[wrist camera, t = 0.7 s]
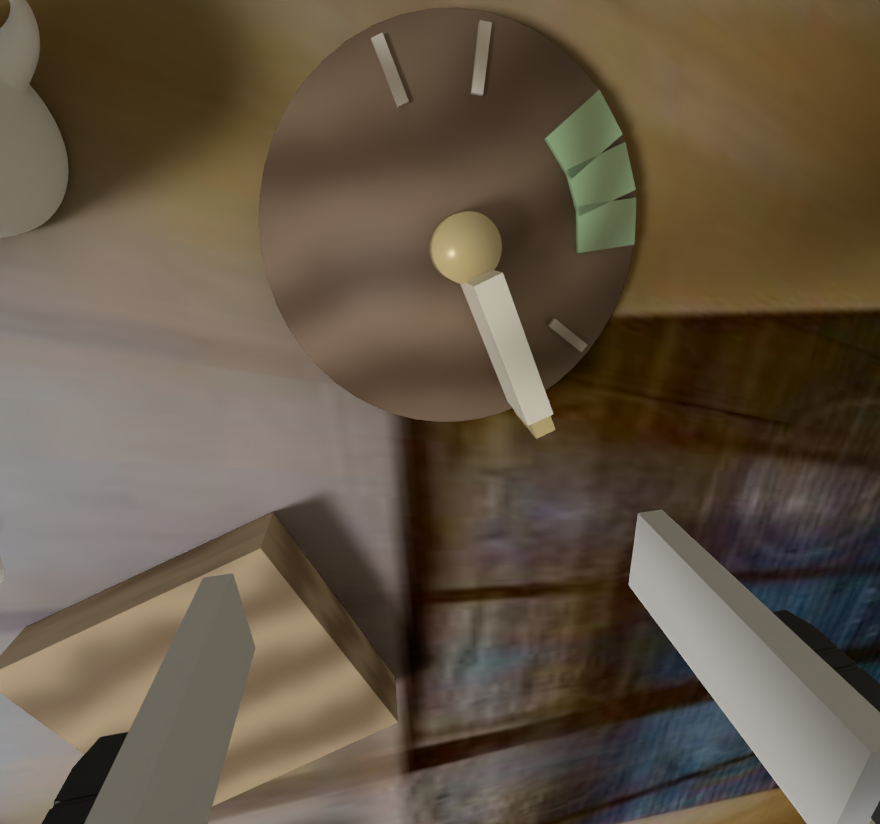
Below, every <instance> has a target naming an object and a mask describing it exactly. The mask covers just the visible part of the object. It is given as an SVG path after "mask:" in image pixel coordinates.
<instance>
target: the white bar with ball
mask: <svg viewBox="0 0 880 824" xmlns="http://www.w3.org/2000/svg"><path fill="white" fill-rule="evenodd" d="M428 249H429V256H430V259H431V262H432V264H433V266H434V267H435V269H436V270H437V271H438V272H439V273H440V274H441V275H443V276H445V277H446V278H448V279H450V280H452V281H454V282H456V283H460V284H461V287H462V289H463V292H464V294H465V297H466V299H467V302H468V304H469V307H470V309H471V312H472V314H473V317H474V319H475V322H476V324H477V327H478V329H479V332H480V334H481V337H482V339H483V342H484V344H485V347H486V349H487V352H488V354H489V357H490V359H491V362H492V364H493V367H494V369H495V372H496V374H497V377H498V379H499V382H500V384H501V387H502V389H503V392H504V394H505V397H506V399H507V402H508V403H509V404H510V405H511V407H512V408H513V409H514V411H515V413H516V415H517V416H518V417H519V418H520V419H521V421H522V422H523V423H524V424H525V425H526V427H527V428H528V429H529V430H530V431H531V433H532V434H533V435H534V436H535V437H536V439H537V438H539V437H541V436H543V435H545V434H548V433H550V432H552V431H554V430H555V428H554V425H553V422H552V419H551V415H553V412H552V409H551V406H550V403H549V400H548V398H547V395H546V392H545V389H544V386H543V384H542V381H541V378H540V375H539V372H538V370H537V367H536V364H535V361H534V358H533V356H532V353H531V350H530V347H529V344H528V342H527V339H526V336H525V333H524V330H523V328H522V325H521V322H520V319H519V316H518V314H517V311H516V308H515V305H514V302H513V299H512V297H511V294H510V291H509V288H508V285H507V283H506V280H505V277H504V274H503V272H499V271H495V268H496V267H497V265H498V263H499V260H500V257H501V252H502V242H501V237H500V234H499V231H498V229H497V227H496V226H495V224H494V223H493V222H492V221H491V220H490V219H489V218H488V217H486V216H485V215H483V214H481V213H478V212H473V211H466V212H460V213H456V214H452V215H449V216H447V217H445V218H444V219H442V220H441V221H440V222H439V223H438V224H437V225H436V226H435V227H434V229H433V231H432V233H431V235H430V239H429V247H428Z"/></svg>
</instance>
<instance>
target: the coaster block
mask: <svg viewBox="0 0 880 824" xmlns="http://www.w3.org/2000/svg"><path fill="white" fill-rule="evenodd" d="M231 573H233V574H234V578H235V581H236V584H237V588H238V591H239V594H240V598H241V601H242V604H243V608H244V611H245V614H246V618H247V621H248V624H249V627H250V631H251V634H252V637H253V641H254V644H255V647H256V648H255V652H254V655H253V659H252V663H251V666H250V670H249V674H248V677H247V681H246V684H245V688H244V692H243V695H242V699H241V703H240V706H239V710H238V714H237V717H236V721H235V725H234V728H233V732H232V736H231V739H230V743H229V747H228V750H227V754H226V758H225V761H224V765H223V769H222V772H221V776H220V780H219V783H218V787H217V791H216V794H215V798H214V802H213V805H212V806H214V805H216V804H219V803H221V802H223V801H225V800H227V799H230V798H232V797H234V796H236V795H238V794H241V793H243V792H245V791H247V790H249V789H252V788H254V787H256V786H258V785H260V784H263V783H265V782H267V781H269V780H272V779H274V778H276V777H278V776H280V775H283V774H285V773H287V772H289V771H291V770H294V769H296V768H298V767H300V766H302V765H305V764H307V763H309V762H311V761H313V760H316V759H318V758H320V757H322V756H324V755H327V754H329V753H331V752H333V751H336V750H338V749H340V748H342V747H344V746H347V745H349V744H351V743H353V742H355V741H358V740H360V739H362V738H364V737H366V736H369V735H371V734H373V733H375V732H377V731H380V730H382V729H384V728H386V727H388V726H391V725H393V724H395V723H397V722H398V716H397V700H396V684H395V676H394V675H393V674H392V672H391V671H390V669H389V668H388V667H387V665H386V664H385V663H384V661H383V660H382V659H381V657H380V656H379V655H378V653H377V652H376V651H375V649H374V648H373V646H372V645H371V644H370V642H369V641H368V640H367V638H366V637H365V636H364V634H363V633H362V632H361V630H360V629H359V628H358V626H357V625H356V624H355V622H354V621H353V619H352V618H351V617H350V615H349V614H348V613H347V611H346V610H345V609H344V607H343V606H342V605H341V603H340V602H339V601H338V599H337V598H336V597H335V595H334V594H333V592H332V591H331V590H330V588H329V587H328V586H327V584H326V583H325V582H324V580H323V579H322V578H321V576H320V575H319V574H318V572H317V571H316V569H315V568H314V567H313V565H312V564H311V563H310V561H309V560H308V559H307V557H306V556H305V555H304V553H303V552H302V551H301V549H300V548H299V547H298V545H297V544H296V542H295V541H294V540H293V538H292V537H291V536H290V534H289V533H288V532H287V530H286V529H285V528H284V526H283V525H282V524H281V522H280V521H279V520H278V518H277V517H276V515H275V514H274V513H273V512H272V513H270V514H267V515H265V516H263V517H261V518H259V519H257V520H255V521H252V522H250V523H248V524H246V525H244V526H242V527H240V528H237V529H235V530H233V531H231V532H229V533H227V534H225V535H222V536H220V537H218V538H216V539H214V540H212V541H210V542H207V543H205V544H203V545H201V546H199V547H197V548H195V549H192V550H190V551H188V552H186V553H184V554H182V555H180V556H177V557H175V558H173V559H171V560H169V561H167V562H165V563H162V564H160V565H158V566H156V567H154V568H152V569H150V570H147V571H145V572H143V573H141V574H139V575H137V576H135V577H132V578H130V579H128V580H126V581H124V582H122V583H120V584H117V585H115V586H113V587H111V588H109V589H107V590H105V591H102V592H100V593H98V594H96V595H94V596H92V597H90V598H87V599H85V600H83V601H81V602H79V603H77V604H75V605H72V606H70V607H68V608H66V609H64V610H62V611H60V612H57V613H55V614H53V615H51V616H49V617H47V618H45V619H42V620H40V621H38V622H36V623H34V624H32V625H30V626H27V627H25V628H24V629H23V631H22V632H21V633H20V634H19V635H18V636H17V637H16V639H15V640H14V641H13V642H12V643H11V644H10V645H9V647H8V648H7V649H6V650H5V651H4V652H3V653H2V655H1V656H0V693H1V694H2V695H4V696H5V697H7V698H8V699H9V700H11V701H12V702H13V703H15V704H16V705H18V706H19V707H20V708H22V709H23V710H24V711H26V712H27V713H29V714H30V715H31V716H33V717H34V718H35V719H37V720H38V721H40V722H41V723H42V724H44V725H45V726H46V727H48V728H49V729H51V730H52V731H53V732H55V733H56V734H57V735H59V736H60V737H62V738H63V739H64V740H66V741H67V742H68V743H70V744H71V745H73V746H74V747H75V748H77V749H78V750H79V751H81V752H82V753H84V754H85V753H86V752H87V751H88V750H89V749H90V748H91V747H92V745H93V744H94V743H95V742H96V741H97V740H98V739H99V738H100V737H102V736H108V735H113V734H119V733H124V732H129V730H130V728H131V726H132V724H133V722H134V720H135V718H136V716H137V713H138V711H139V709H140V707H141V705H142V703H143V701H144V699H145V697H146V695H147V693H148V691H149V689H150V687H151V684H152V682H153V680H154V678H155V676H156V674H157V672H158V670H159V668H160V666H161V664H162V662H163V660H164V658H165V655H166V653H167V651H168V649H169V647H170V645H171V643H172V641H173V639H174V637H175V635H176V633H177V631H178V629H179V626H180V624H181V622H182V620H183V618H184V616H185V614H186V612H187V610H188V608H189V606H190V604H191V602H192V600H193V597H194V595H195V593H196V591H197V589H198V587H199V585H200V583H201V581H202V579H203V578H204V577H211V576H218V575H224V574H231Z"/></svg>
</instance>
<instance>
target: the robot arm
mask: <svg viewBox="0 0 880 824" xmlns="http://www.w3.org/2000/svg"><path fill="white" fill-rule="evenodd" d="M629 586H630V588H631V589H632V590H633V592H634V593H635V594H636V596H637V597H638V598H639V600H640V601H641V602H642V604H643V605H644V606H645V608H646V609H647V610H648V612H649V613H650V614H651V616H652V617H653V618H654V620H655V621H656V622H657V624H658V625H659V626H660V628H661V629H662V630H663V632H664V633H665V634H666V636H667V637H668V638H669V640H670V641H671V642H672V644H673V645H674V646H675V648H676V649H677V650H678V652H679V653H680V654H681V656H682V657H683V658H684V660H685V661H686V663H687V664H688V665H689V667H690V668H691V669H692V671H693V672H694V673H695V675H696V676H697V677H698V679H699V680H700V681H701V683H702V684H703V685H704V687H705V688H706V689H707V691H708V692H709V693H710V695H711V696H712V697H713V699H714V700H715V701H716V703H717V704H718V705H719V707H720V708H721V709H722V711H723V712H724V713H725V715H726V716H727V717H728V719H729V720H730V721H731V723H732V724H733V725H734V727H735V728H736V729H737V731H738V732H739V733H740V735H741V736H742V737H743V739H744V740H745V741H746V743H747V744H748V745H749V747H750V748H751V749H752V751H753V752H754V753H755V755H756V756H757V757H758V759H759V760H760V761H761V763H762V764H763V765H764V767H765V768H766V769H767V771H768V772H769V773H770V775H771V776H772V778H773V779H774V780H775V782H776V783H777V784H778V786H779V787H780V788H781V790H782V791H783V792H784V794H785V795H786V796H787V798H788V799H789V800H790V802H791V803H792V804H793V806H794V807H795V808H796V810H797V811H798V812H799V814H800V815H801V816H802V818H803V819H804V820H805V822H806V823H807V824H869V823H870V821H871V820H873V821H874V822H875V823H876V824H880V684H879V683H878V682H877V681H876V680H875V679H874V678H872V677H871V676H870V675H869V674H868V673H867V672H866V671H864V670H863V669H862V668H858V667H857V664H856V663H855V662H854V661H853V660H852V659H851V658H850V657H848V656H847V655H846V654H845V653H844V652H843V651H839V650H838V649H837V646H836V645H835V644H834V643H832V642H831V641H830V640H829V639H828V638H827V637H826V636H824V635H823V634H822V633H821V632H820V631H819V630H818V629H816V628H815V627H814V626H813V625H811V624H809V623H808V622H806V621H804V620H802V619H801V618H799V617H797V616H795V615H794V614H792V613H790V612H789V611H787V610H782V611H777V612H771V611H770V610H769V609H768V608H767V607H766V606H765V605H764V604H763V603H762V602H760V601H759V600H758V599H757V598H756V597H755V596H754V595H753V594H752V593H751V592H750V591H749V590H748V589H746V588H745V587H744V586H743V585H742V584H741V583H740V582H739V581H738V580H737V579H736V578H735V577H734V576H733V575H731V574H730V573H729V572H728V571H727V570H726V569H725V568H724V567H723V566H722V565H721V564H720V563H719V562H717V561H716V560H715V559H714V558H713V557H712V556H711V555H710V554H709V553H708V552H707V551H706V550H705V549H703V548H702V547H701V546H700V545H699V544H698V543H697V542H696V541H695V540H694V539H693V538H692V537H691V536H689V535H688V534H687V533H686V532H685V531H684V530H683V529H682V528H681V527H680V526H679V525H678V524H677V523H676V522H674V521H673V520H672V519H671V518H670V517H669V516H668V515H667V514H666V513H665V512H664V511H663V510H657V511H650V512H643V513H638V517H637V525H636V532H635V540H634V547H633V555H632V563H631V570H630V578H629ZM255 648H256V647H255V644H254V641H253V637H252V634H251V631H250V627H249V624H248V621H247V618H246V614H245V611H244V608H243V604H242V601H241V598H240V594H239V591H238V588H237V584H236V581H235V578H234V574H233V573H231V574H224V575H218V576H211V577H204V578H203V579H202V581H201V583H200V585H199V587H198V589H197V591H196V593H195V595H194V597H193V600H192V602H191V604H190V606H189V608H188V610H187V612H186V614H185V616H184V618H183V620H182V622H181V624H180V626H179V629H178V631H177V633H176V635H175V637H174V639H173V641H172V643H171V645H170V647H169V649H168V651H167V653H166V655H165V658H164V660H163V662H162V664H161V666H160V668H159V670H158V672H157V674H156V676H155V678H154V680H153V682H152V684H151V687H150V689H149V691H148V693H147V695H146V697H145V699H144V701H143V703H142V705H141V707H140V709H139V711H138V713H137V716H136V718H135V720H134V722H133V724H132V726H131V728H130V730H129V732H124V733H119V734H113V735H108V736H102V737H100V738H99V739H98V740H97V741H96V742H95V743H94V744H93V745H92V747H91V748H90V749H89V750H88V751H87V752H86V753H85V755H84V756H83V757H82V758H81V759H80V760H79V761H78V762H77V764H76V765H75V766H74V767H73V768H72V770H71V772H70V774H69V776H68V777H67V779H66V781H65V783H64V785H63V786H62V788H61V790H60V792H59V794H58V795H57V797H56V799H55V801H54V806H53V808H52V809H50V810H49V812H48V813H47V815H46V817H45V819H44V821H43V822H42V824H208V820H209V816H210V813H211V809H212V805H213V802H214V798H215V794H216V791H217V787H218V783H219V780H220V776H221V772H222V769H223V765H224V761H225V758H226V754H227V750H228V747H229V743H230V739H231V736H232V732H233V728H234V725H235V721H236V717H237V714H238V710H239V706H240V703H241V699H242V695H243V692H244V688H245V684H246V681H247V677H248V674H249V670H250V666H251V663H252V659H253V655H254V652H255Z"/></svg>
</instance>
